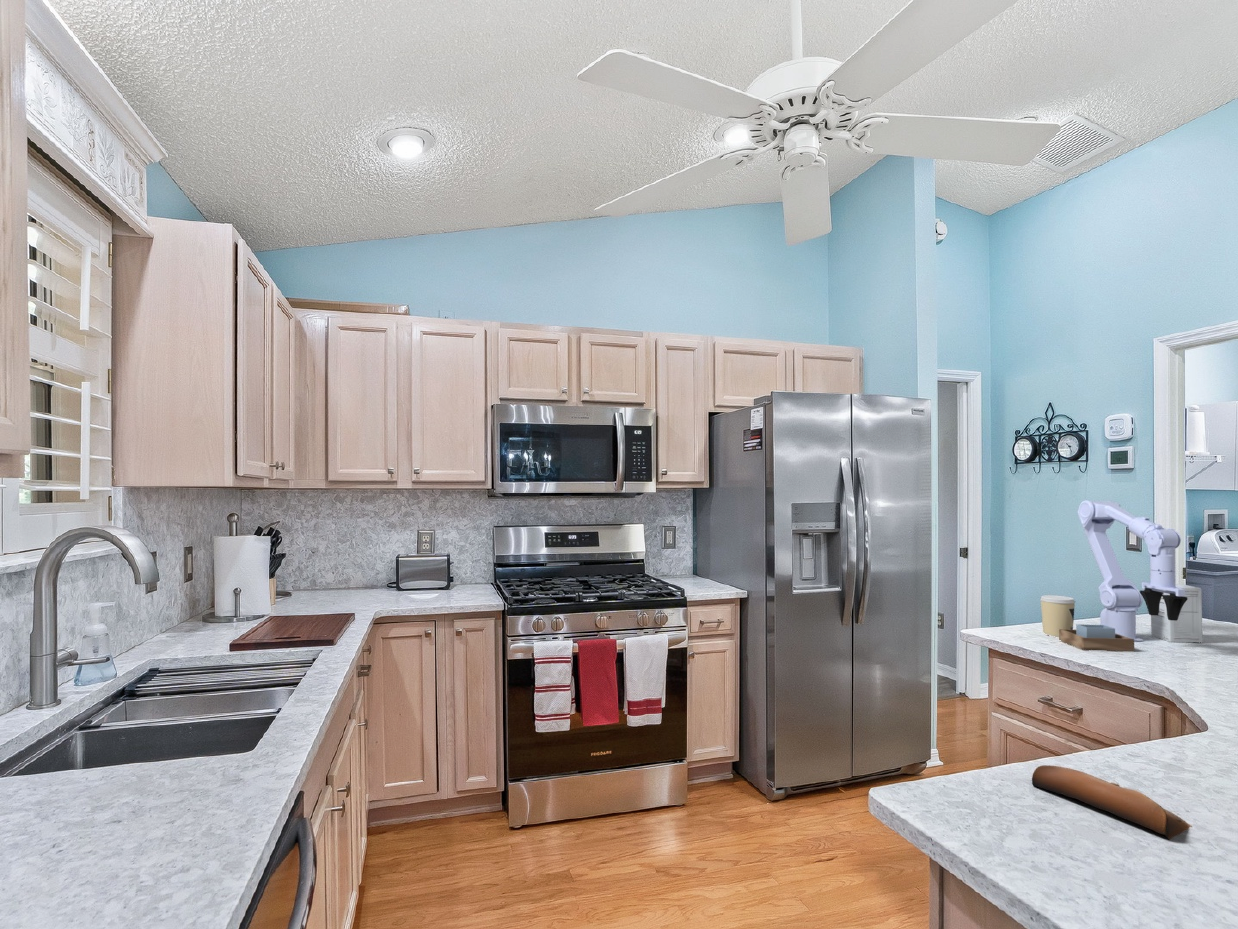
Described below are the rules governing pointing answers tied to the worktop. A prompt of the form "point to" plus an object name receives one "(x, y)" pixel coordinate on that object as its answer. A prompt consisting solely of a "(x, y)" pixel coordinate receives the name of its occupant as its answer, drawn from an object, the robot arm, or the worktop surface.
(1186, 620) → the supplement box
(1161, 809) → the sunglasses case
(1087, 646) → the walnut crate
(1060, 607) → the coffee cup
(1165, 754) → the worktop surface
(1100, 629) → the slate crate
